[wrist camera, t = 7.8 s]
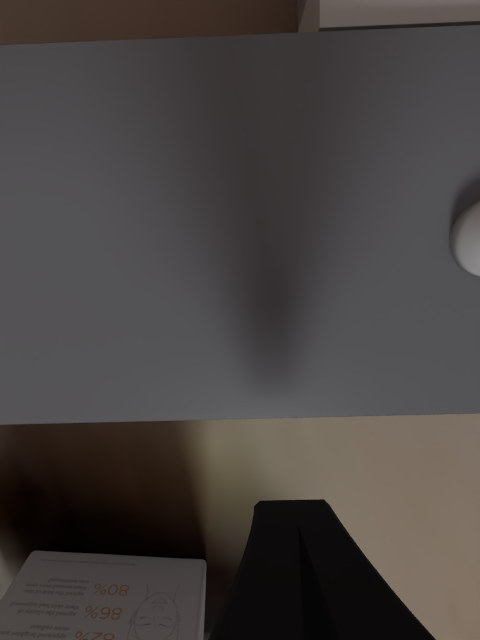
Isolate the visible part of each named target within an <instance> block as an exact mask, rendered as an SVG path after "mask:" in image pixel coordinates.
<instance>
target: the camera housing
mask: <svg viewBox="0 0 480 640" xmlns="http://www.w3.org/2000/svg"><path fill="white" fill-rule="evenodd" d="M477 413H480V25H466V26H442V27H418V28H394V29H370V30H347V31H323V32H299V33H275V34H251V35H227V36H203V37H179V38H155V39H131V40H107V41H83V42H59V43H35V44H12V45H0V425H8V424H51V423H94V422H136V421H179V420H221V419H264V418H307V417H349V416H392V415H435V414H477Z"/></svg>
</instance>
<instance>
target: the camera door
mask: <svg viewBox="0 0 480 640" xmlns="http://www.w3.org/2000/svg"><path fill="white" fill-rule="evenodd" d="M466 25H480V0H297V33H299V32H323V31H347V30H370V29H394V28H418V27H442V26H466Z"/></svg>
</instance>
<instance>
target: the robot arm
mask: <svg viewBox="0 0 480 640" xmlns="http://www.w3.org/2000/svg"><path fill="white" fill-rule="evenodd" d="M208 640H436V639H435V638H434V637H433V636H432V635H431V634H430V633H429V632H428V630H427V629H426V628H425V627H424V626H423V625H422V624H421V623H420V622H419V620H418V619H417V618H416V617H415V616H414V615H413V614H412V613H411V611H410V610H409V609H408V608H407V607H406V606H405V604H404V603H403V602H402V601H401V600H400V598H399V597H398V596H397V595H396V594H395V593H394V591H393V590H392V589H391V588H390V586H389V585H388V584H387V583H386V581H385V580H384V579H383V578H382V576H381V575H380V574H379V573H378V571H377V570H376V569H375V568H374V567H373V565H372V564H371V563H370V561H369V560H368V559H367V558H366V556H365V555H364V554H363V552H362V551H361V550H360V548H359V547H358V546H357V544H356V543H355V541H354V540H353V539H352V537H351V536H350V535H349V533H348V532H347V530H346V529H345V528H344V526H343V525H342V523H341V522H340V520H339V519H338V517H337V516H336V514H335V513H334V511H333V510H332V508H331V507H330V505H329V504H328V503H327V502H326V501H325V500H273V501H259V502H258V503H257V504H256V505H255V506H254V516H253V521H252V526H251V530H250V534H249V538H248V541H247V545H246V548H245V551H244V554H243V557H242V560H241V563H240V565H239V568H238V571H237V573H236V576H235V579H234V582H233V584H232V587H231V590H230V592H229V594H228V597H227V599H226V601H225V604H224V606H223V608H222V610H221V612H220V615H219V617H218V619H217V621H216V624H215V626H214V628H213V630H212V633H211V635H210V637H209V639H208Z"/></svg>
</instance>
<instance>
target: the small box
mask: <svg viewBox="0 0 480 640" xmlns="http://www.w3.org/2000/svg"><path fill="white" fill-rule="evenodd" d="M205 587H206V561H205V560H202V559H183V558H164V557H146V556H128V555H111V554H93V553H71V552H52V551H33V552H32V553H31V554H30V555H29V557H28V558H27V560H26V561H25V563H24V564H23V566H22V568H21V569H20V571H19V573H18V574H17V576H16V577H15V579H14V580H13V582H12V584H11V585H10V587H9V588H8V590H7V592H6V593H5V595H4V596H3V598H2V599H1V601H0V640H203V633H204V612H205Z"/></svg>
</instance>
